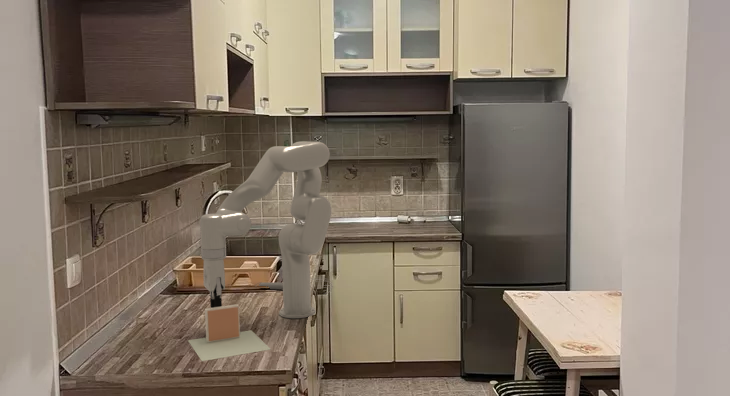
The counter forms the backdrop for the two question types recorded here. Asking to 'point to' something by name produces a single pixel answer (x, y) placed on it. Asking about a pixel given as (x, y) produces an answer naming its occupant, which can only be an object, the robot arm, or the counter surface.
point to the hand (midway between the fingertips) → (216, 310)
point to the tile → (222, 323)
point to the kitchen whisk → (280, 285)
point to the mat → (228, 346)
